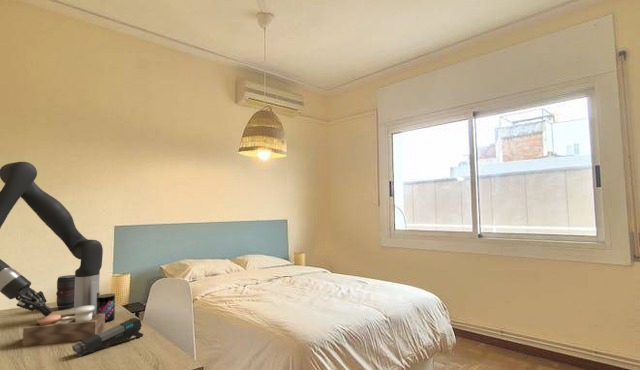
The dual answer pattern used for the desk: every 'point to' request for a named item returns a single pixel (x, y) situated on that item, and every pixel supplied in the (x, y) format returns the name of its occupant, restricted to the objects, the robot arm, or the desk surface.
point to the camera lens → (65, 292)
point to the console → (63, 330)
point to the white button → (83, 313)
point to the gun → (109, 336)
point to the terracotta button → (49, 319)
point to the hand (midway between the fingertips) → (49, 314)
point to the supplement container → (106, 306)
